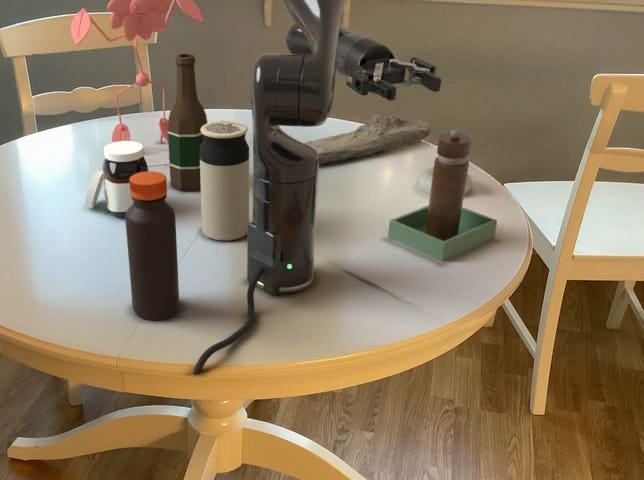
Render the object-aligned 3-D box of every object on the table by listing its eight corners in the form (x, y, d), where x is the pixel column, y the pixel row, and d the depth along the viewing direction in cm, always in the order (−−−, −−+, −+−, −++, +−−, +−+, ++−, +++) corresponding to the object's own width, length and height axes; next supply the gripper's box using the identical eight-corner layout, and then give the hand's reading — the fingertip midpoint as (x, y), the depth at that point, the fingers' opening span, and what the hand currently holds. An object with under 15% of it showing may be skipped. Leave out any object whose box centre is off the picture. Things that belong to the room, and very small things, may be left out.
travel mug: (226, 246, 139) (225, 139, 129) (192, 232, 144) (188, 128, 134) (258, 230, 144) (259, 126, 134) (224, 218, 148) (222, 116, 138)
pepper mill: (443, 247, 136) (459, 137, 126) (418, 236, 139) (431, 128, 129) (463, 237, 138) (481, 129, 128) (438, 227, 142) (453, 121, 132)
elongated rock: (275, 164, 173) (302, 182, 166) (275, 140, 170) (303, 157, 163) (409, 125, 186) (440, 140, 179) (412, 102, 182) (443, 116, 175)
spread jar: (156, 217, 149) (152, 154, 143) (93, 227, 146) (86, 162, 140) (139, 193, 159) (135, 132, 152) (80, 201, 156) (73, 140, 149)
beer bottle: (216, 188, 160) (214, 57, 146) (177, 195, 157) (171, 63, 144) (201, 174, 166) (197, 48, 153) (164, 180, 164) (157, 52, 150)
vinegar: (171, 323, 119) (164, 189, 108) (126, 317, 120) (114, 185, 109) (185, 300, 124) (179, 170, 113) (141, 295, 126) (132, 166, 115)
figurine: (80, 153, 177) (60, -28, 158) (195, 136, 185) (189, -39, 166) (99, 178, 165) (80, -15, 146) (221, 158, 173) (218, -27, 154)
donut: (415, 200, 153) (472, 202, 152) (417, 182, 152) (474, 184, 150) (415, 179, 162) (469, 181, 160) (416, 162, 160) (471, 164, 158)
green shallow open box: (441, 264, 132) (444, 243, 130) (387, 240, 140) (389, 220, 138) (493, 240, 139) (497, 220, 137) (439, 218, 146) (442, 199, 144)
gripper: (327, 44, 142) (381, 73, 130) (398, 32, 146) (457, 59, 134) (324, 88, 146) (376, 120, 135) (393, 75, 151) (449, 105, 139)
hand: (416, 90), depth 135 cm, fingers open, 8 cm apart
